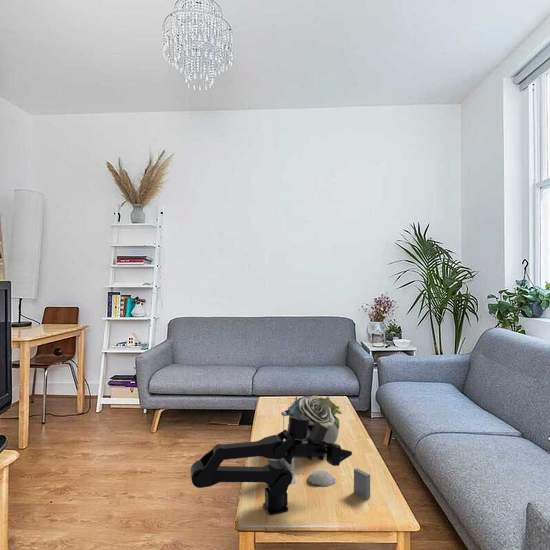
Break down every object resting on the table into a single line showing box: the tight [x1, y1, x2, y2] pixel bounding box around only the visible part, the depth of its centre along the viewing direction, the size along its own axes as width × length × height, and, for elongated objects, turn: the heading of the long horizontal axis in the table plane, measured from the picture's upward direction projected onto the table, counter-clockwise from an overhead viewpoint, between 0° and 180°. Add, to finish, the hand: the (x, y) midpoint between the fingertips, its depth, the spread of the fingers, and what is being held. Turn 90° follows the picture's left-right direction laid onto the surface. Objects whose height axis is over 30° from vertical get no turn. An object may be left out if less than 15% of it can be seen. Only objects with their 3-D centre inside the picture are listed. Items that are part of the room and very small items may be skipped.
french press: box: [272, 411, 297, 485], centre depth 156 cm, size 10×12×25 cm
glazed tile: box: [353, 467, 371, 501], centre depth 145 cm, size 2×6×8 cm, turn 34°
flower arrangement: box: [284, 394, 342, 444], centre depth 183 cm, size 25×25×24 cm
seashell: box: [307, 469, 336, 487], centre depth 156 cm, size 10×6×10 cm
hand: (344, 450), depth 145 cm, fingers open, 9 cm apart
